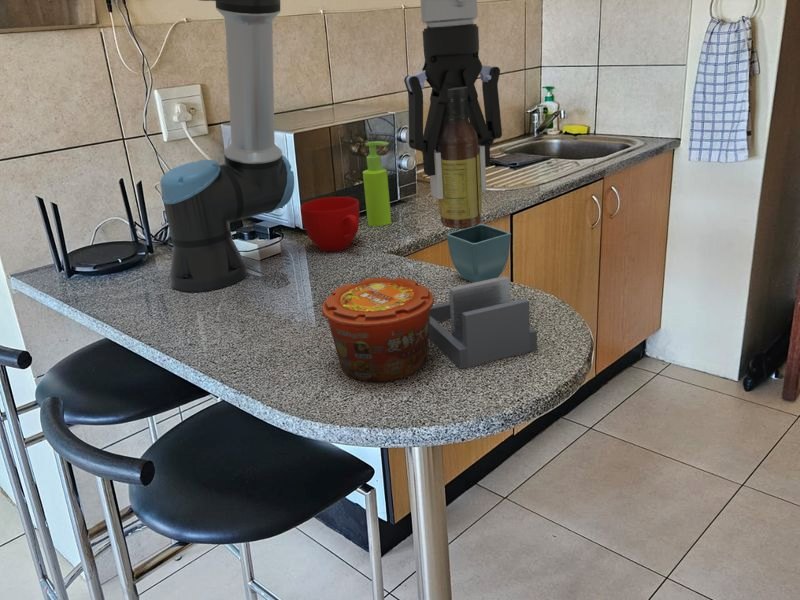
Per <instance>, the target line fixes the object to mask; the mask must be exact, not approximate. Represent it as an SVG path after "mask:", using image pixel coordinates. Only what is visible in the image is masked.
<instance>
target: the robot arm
mask: <svg viewBox="0 0 800 600" xmlns="http://www.w3.org/2000/svg"><path fill="white" fill-rule="evenodd" d="M199 1H200V2H215V9H216V10H217V11H218V13H219V14H220V15H221V16H222V17H223V18H224V24H225V26H224V27H225V29H224V30H225V44H226V62H227V80H228V83H227V84H228V85H227V86H228V100H229V101H228V102H229V123H230V138H231V141H230V144H229V145H228V146H227V147H226V148H225V149H224V151H223V153H224V163H223V164H220V163H219V162H218V161H217V160H215V159H214V160H213V159H202V160H198V161H192V162H188V163H184V164H182V165H181V164H180V165H178V166H176V167H173V168H171V169H170V170H168V171H166V172H164V174H162V177H161V178H160V190H161V201H162V203H163V207H164V211H165V215H166V219H167V224H168V229H169V234H170V238H171V243H172V248H173V249H172V256H171V257H172V258H171V264H170V265H171V266H170V271H169V272H170V274H169V275H170V276H169V277H170V281H171V286H172V287H173V289H176V290H178V291H182V292H190V293H191V292H205V291H207V292H208V291H213V290H217V289H222V288H225V287H228V286H231V285H234V284H236V283H238V282H240V281H242V280H243V279H244V278H245V277H246V276H247V273H248V272H247V265H246V263H245V260H244V258H243V256H242V254H241V252H240V250H239V249H238V247H237V245H236V243H235V242H234V240H233V237H232V233H231V231H232V230H231V225H230V224H231V223H234V222H237V221H241V220H245V219H248V218H253V217H255V216H260V215H262V214H270V213H273V212H274V211H275V210H279V209H282V208H283V207H285V206H286V205H287V204H288V203H289V202H290V201H291V198H292V197H293V194H294V189H295V176H294V171H293V170H292V165H291V163H290V161H289V159H287V157H286V156H284V154H283V151H282V149H281V148H280V147H279V146H278V145H277V144H276V143H275V142H276V141H275V102H274V101H275V99H274V98H275V97H274V95H275V93H274V92H275V91H274V89H275V87H274V48H273V47H274V45H273V44H274V43H273V34H274V33H273V21H274V19H275V18H276V17H277V16H278V15H279V14H280V13H281V0H199ZM420 13H421V14H420V15H421V22H422V24H426V28H423V30H422V44H423V57H424V65H423V67H422V69H421V70H422V71H420V72H418V73H416V74H413V75H406V76H405V77H404V80H403V81H404V85H405V87H406V89H407V93H408V96H407V97H408V147H409V148H410V149H413V150H415V151H419V152H421V153H422V163H423V165H422V166H423V172H424V175H426V176H428V177H429V180H430V181H429V182H430V183H429V184H430V195H431V197H433V198H435V199H437V200H439V199H442V198H443V184H442V167H441V153H440V152H437V151H435V149H436V144H437V140H438V135H439V131H440V126H441V122H442V117H443V113H444V108H445V105H446V104H447V102H448V96H447V90H448V89H451V88H455V87H463V86H465V87H468V99H467V101H468V114H469V118H468V119H469V122H470V123H471V125H472V126H473V128H474V130H475V131H476V133H477V137H478V152H479V161H480V182H481V192H486V191H487V178H486V177H487V175H486V173H487V172H486V171H487V170H486V168H487V167H490V165H491V149H490V147H491V146H493V144H494V141H495V140H499V139H501V137H502V136H503V130H502V129H503V127H502V119H501V109H500V97H499V96H500V95H499V87H498V84H499V78H500V74H501V68H500V67H498V66H487V65H482V62H481V60H480V57H479V51H480V41H479V39H480V34H479V26H478V24H477V23H474V20H477V19H478V17H479V16H478V0H420ZM478 77H480V78H479V79H480V81H481V83H482V84H481V87H482V88H481V89H482V90H481V91H482V97H483V98H482V99H483V107H484V108H483V109H484V114H483V112H482V108H481V106H480V102H479V94H478V91H477V89H476V86H475V84H476V82H477V80H478ZM425 81H426V82H427V83H428V85H429V86H430V87H431V92H430V96H429V101H430V102H429V103H430V104H429V108H428V113H427V117H426V121H425V127H424V93H423V90H424V89H425Z"/></svg>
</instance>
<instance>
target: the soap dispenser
mask: <svg viewBox="0 0 800 600" xmlns="http://www.w3.org/2000/svg"><path fill="white" fill-rule="evenodd" d="M389 144H390V143H389V142H387V141H383V140H382V141H381V140H375V141H368V142H365V147H368V151H369V154H368V155H367V156H365V157H366V158H365V159H366V166H367V168H366V169H365V170H363V171H362V180H363V189H364V200H365V209H366V218H367V225H368V226H369V227H384V226H389V225H390V224H392V213H391V203H390V191H389V180H388V179H389V178H388V169H386V168H384V167H382V161H381V160H382V159H381V158H382V157H381V155H380V154H378V153H377V146H383V147H387V146H388V145H389Z"/></svg>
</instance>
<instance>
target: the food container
mask: <svg viewBox="0 0 800 600" xmlns="http://www.w3.org/2000/svg"><path fill="white" fill-rule="evenodd" d="M434 303H435V299H434V294H433V293H432V291H430V290H429V288H428V287H426V286H425V285H421V284H419V282H418V281H416V280H414V279H410V278H404V277H403V278H402V277H395V278H394V279H389V278H388V277H387V276H386V277H385V276H383V277H372V278H367V279H365V278H364V279H362V280H361V281H360V282H358V283H347V284H344V285H341V286H339V287H337V288H336V289H334V290H333V291H332V293H331V295H328V296H327V297H326V299H325V300H324V301H323V302H322V304H321V314H322V317H325V319H326V320H327V321H328V326H329V329H330V333H331V336H332V340H333V343H334V348H335V351H336V355H337V358H338V361H339V366H340V368H341V371H342V372H343V374H344V375H345V376H347V377H348V378H350V379H352V380H354V381H358V382H361V383H375V384H378V383H390V382H396V381H399V380H403V379H405V378H409V377H411V376H412V375H415V374H417V373H418V372H420V371H421V370H422V369H423V368H424V367H425V365H426V364H427V362H428V356H429V341H430V339H429V323H430V308H432V306H433V305H435V304H434Z"/></svg>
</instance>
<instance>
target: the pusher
mask: <svg viewBox="0 0 800 600" xmlns="http://www.w3.org/2000/svg"><path fill="white" fill-rule="evenodd" d="M510 282H511V281H510V277H508V276H507V275H504V276H499V277H498V278H493V279H489V280H484V281H480V282H475V283H473V282H469V283H467V284H461V285H457V286H451V287H449V288H448V291H449V302H450V311H451V319H450V325H451V326H450V328H451V335H453V336H454V337H455V338H456V339H457V340H458V341H459V342H460V343H462V344H463V325H462V313H464V312H468V311H472V310H477V309H481V308H486V307H490V306H494V305H499V304H503V303H507V302H511V288H510V287H511V283H510Z"/></svg>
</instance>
